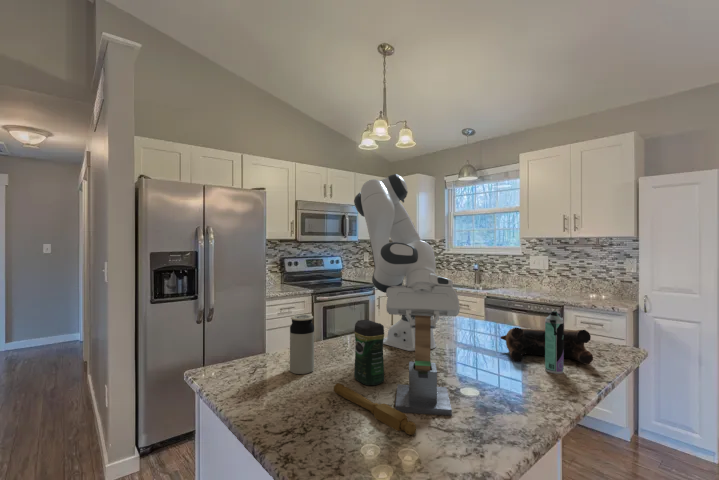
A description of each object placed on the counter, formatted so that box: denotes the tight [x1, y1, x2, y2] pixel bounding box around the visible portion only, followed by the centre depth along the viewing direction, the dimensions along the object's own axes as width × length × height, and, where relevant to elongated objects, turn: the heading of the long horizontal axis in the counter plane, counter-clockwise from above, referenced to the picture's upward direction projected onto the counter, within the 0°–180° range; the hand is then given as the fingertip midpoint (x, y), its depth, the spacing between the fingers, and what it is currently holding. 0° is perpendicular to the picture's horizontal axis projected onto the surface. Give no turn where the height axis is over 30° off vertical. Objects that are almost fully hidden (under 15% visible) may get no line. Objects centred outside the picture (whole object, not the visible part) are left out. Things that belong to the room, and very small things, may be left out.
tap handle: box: [333, 382, 417, 436], centre depth 93 cm, size 3×3×30 cm
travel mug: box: [289, 314, 315, 375], centre depth 122 cm, size 8×8×18 cm
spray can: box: [544, 310, 565, 375], centre depth 122 cm, size 6×6×20 cm
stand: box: [394, 361, 453, 417], centre depth 99 cm, size 14×14×10 cm
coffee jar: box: [353, 319, 385, 386], centre depth 114 cm, size 10×8×19 cm
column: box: [414, 315, 432, 370], centre depth 99 cm, size 4×4×15 cm
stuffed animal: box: [500, 327, 594, 365], centre depth 141 cm, size 13×31×25 cm
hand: (422, 327), depth 98 cm, fingers closed on column, 4 cm apart
